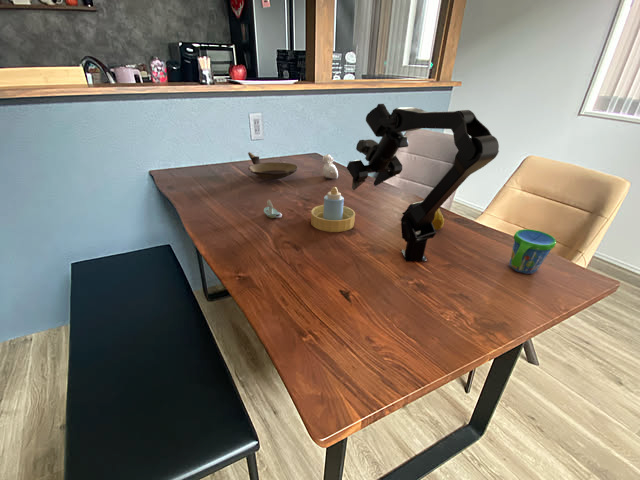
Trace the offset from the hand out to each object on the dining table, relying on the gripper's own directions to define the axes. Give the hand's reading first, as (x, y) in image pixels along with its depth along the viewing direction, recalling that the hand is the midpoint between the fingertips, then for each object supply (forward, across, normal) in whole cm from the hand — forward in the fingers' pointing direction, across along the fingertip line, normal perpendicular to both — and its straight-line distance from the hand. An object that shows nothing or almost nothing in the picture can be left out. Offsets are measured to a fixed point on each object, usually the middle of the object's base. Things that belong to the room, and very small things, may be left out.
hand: (363, 187), depth 120 cm
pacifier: (+24, +22, -12) cm, 35 cm away
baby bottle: (+14, +7, +2) cm, 16 cm away
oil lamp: (+47, -2, -50) cm, 69 cm away
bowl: (+15, +7, +2) cm, 17 cm away
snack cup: (-13, -23, +48) cm, 55 cm away
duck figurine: (+33, -24, -42) cm, 58 cm away
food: (+7, -26, +15) cm, 31 cm away
